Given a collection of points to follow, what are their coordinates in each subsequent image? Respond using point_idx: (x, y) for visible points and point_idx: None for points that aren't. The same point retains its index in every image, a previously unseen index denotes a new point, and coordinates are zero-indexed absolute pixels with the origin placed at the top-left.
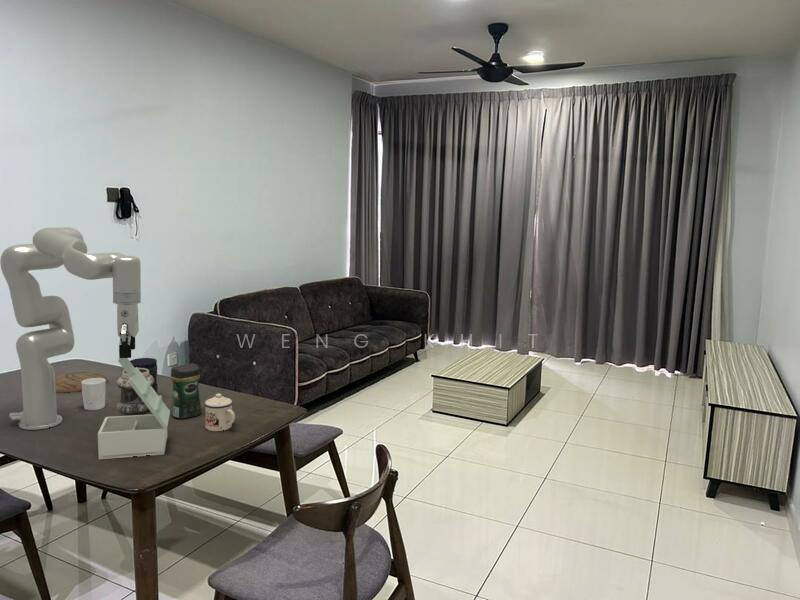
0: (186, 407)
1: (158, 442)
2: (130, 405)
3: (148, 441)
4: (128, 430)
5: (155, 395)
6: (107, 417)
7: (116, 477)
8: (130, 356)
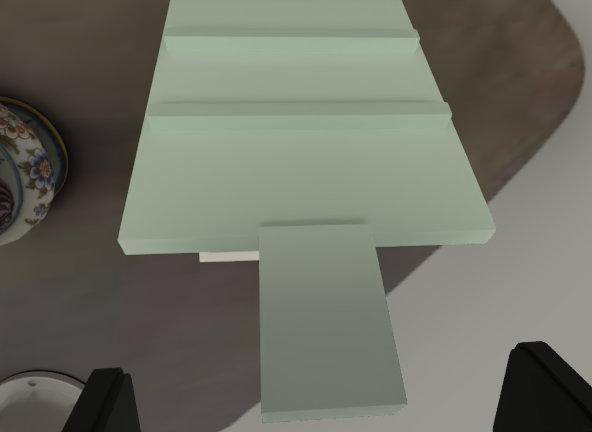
0: None
1: None
2: (30, 193)
3: None
4: None
5: (211, 64)
6: (206, 254)
7: (494, 151)
8: (547, 352)
